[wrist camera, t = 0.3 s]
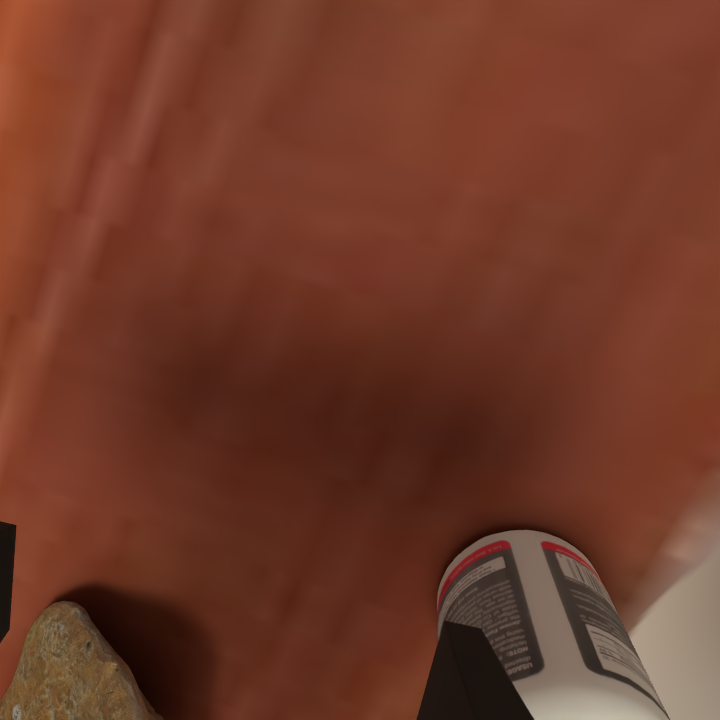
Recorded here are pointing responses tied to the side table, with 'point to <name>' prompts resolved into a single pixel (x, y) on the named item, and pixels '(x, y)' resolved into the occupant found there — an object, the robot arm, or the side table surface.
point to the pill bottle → (549, 627)
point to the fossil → (72, 673)
